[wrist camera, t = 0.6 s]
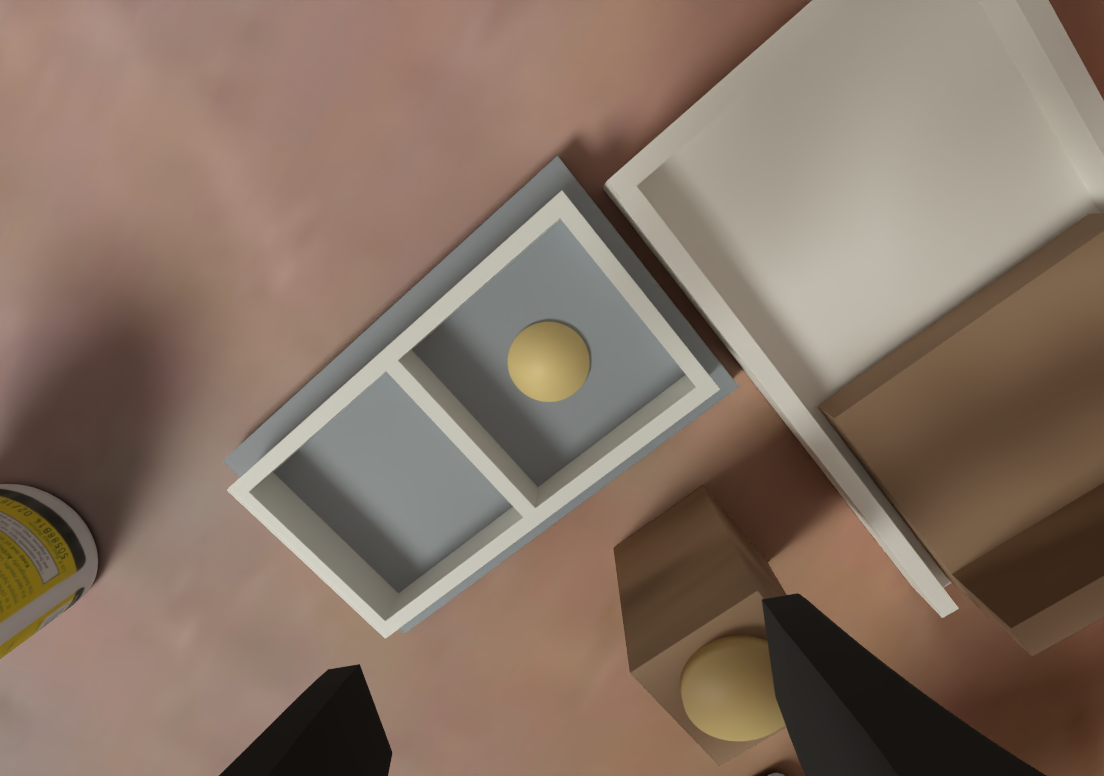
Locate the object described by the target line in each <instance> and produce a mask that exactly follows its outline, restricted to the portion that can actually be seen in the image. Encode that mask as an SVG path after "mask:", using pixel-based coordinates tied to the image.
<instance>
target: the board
mask: <svg viewBox="0 0 1104 776" xmlns="http://www.w3.org/2000/svg"><path fill="white" fill-rule="evenodd" d="M602 188H603V190H604V191H605V192H606V193H607V195H608V196H609V197H610V199H611V200H612V201H613V202H614V204H615V205H616V206H617V208H618V209H619V210H620V211H621V213H622V214H623V215H624V217H625V218H626V219H627V220H628V222H629V223H630V224H631V226H632V227H633V228H634V229H635V231H636V232H637V233H638V235H639V236H640V237H641V238H642V240H643V241H644V242H645V244H646V245H647V246H648V247H649V249H650V250H651V251H652V253H653V254H654V255H655V256H656V258H657V259H658V260H659V262H660V263H661V264H662V265H663V267H664V268H665V269H666V271H667V272H668V273H669V274H670V276H671V277H672V278H673V280H674V281H675V282H676V283H677V285H678V286H679V287H680V289H681V290H682V291H683V292H684V294H685V295H686V296H687V298H688V299H689V300H690V301H691V303H692V304H693V305H694V307H695V308H696V309H697V310H698V312H699V313H700V314H701V316H702V317H703V318H704V319H705V321H706V322H707V323H708V325H709V326H710V327H711V329H712V330H713V331H714V332H715V334H716V335H717V336H718V338H719V339H720V340H721V341H722V343H723V344H724V345H725V347H726V348H727V349H728V350H729V352H730V353H731V354H732V356H733V357H734V358H735V359H736V361H737V362H738V363H739V365H740V366H741V367H742V368H743V370H744V371H745V372H746V374H747V375H748V376H749V377H750V379H751V380H752V381H753V383H754V384H755V385H756V386H757V388H758V389H759V390H760V392H761V393H762V394H763V395H764V397H765V398H766V399H767V401H768V402H769V403H770V404H771V406H772V407H773V408H774V410H775V411H776V412H777V413H778V415H779V416H780V417H781V419H782V420H783V421H784V422H785V424H786V425H787V426H788V428H789V429H790V430H791V431H792V433H793V434H794V435H795V437H796V438H797V439H798V440H799V442H800V443H801V444H802V446H803V447H804V448H805V449H806V451H807V452H808V453H809V455H810V456H811V457H812V458H813V460H814V461H815V462H816V464H817V465H818V466H819V467H820V469H821V470H822V471H823V473H824V474H825V475H826V476H827V478H828V479H829V480H830V482H831V483H832V484H833V485H834V487H835V488H836V489H837V491H838V492H839V493H840V494H841V496H842V497H843V498H844V500H845V501H846V502H847V503H848V505H849V506H850V507H851V509H852V510H853V511H854V513H855V514H856V515H857V516H858V518H859V519H860V520H861V522H862V523H863V524H864V525H865V527H866V528H867V529H868V531H869V532H870V533H871V534H872V536H873V537H874V538H875V540H876V541H877V542H878V543H879V545H880V546H881V547H882V549H883V550H884V551H885V552H886V554H887V555H888V556H889V558H890V559H891V560H892V561H893V563H894V564H895V565H896V567H897V568H898V569H899V570H900V572H901V573H902V574H903V576H904V577H905V578H906V579H907V581H908V582H909V583H910V585H911V586H912V587H913V588H914V589H915V590H916V591H917V592H918V593H919V594H920V595H921V596H922V597H923V598H924V599H925V600H926V601H927V602H928V603H929V605H930V606H931V607H932V608H933V609H934V610H935V611H936V612H937V613H938V614H939V615H940V616H941V617H942V618H944V617H945V616H947V615H949V614H950V613H952V612H954V611H956V610H957V609H959V608H958V607H957V605H956V604H955V603H954V602H953V600H952V599H951V598H950V596H949V595H948V594H947V592H946V591H945V590H944V587H945V586H947V585H949V584H950V583H952V582H951V581H950V580H949V579H948V578H947V577H946V576H945V575H944V574H943V572H942V571H941V570H940V568H939V567H938V566H937V564H936V563H935V562H934V560H933V559H932V558H931V556H930V555H929V554H928V552H927V551H926V550H925V548H924V547H923V546H922V544H921V543H920V542H919V540H918V539H917V538H916V537H915V535H914V534H913V533H912V531H911V530H910V529H909V527H908V526H907V525H906V523H905V522H904V521H903V519H902V518H901V517H900V515H899V514H898V513H897V511H896V510H895V509H894V507H893V506H892V505H891V503H890V502H889V501H888V500H887V498H886V497H885V496H884V494H883V493H882V492H881V490H880V489H879V488H878V486H877V485H876V484H875V482H874V481H873V480H872V478H871V477H870V476H869V474H868V473H867V472H866V470H865V469H864V468H863V466H862V465H861V464H860V463H859V461H858V460H857V459H856V457H855V456H854V455H853V453H852V452H851V451H850V449H849V448H848V447H847V445H846V444H845V443H844V441H843V440H842V439H841V437H840V436H839V435H838V433H837V432H836V431H835V429H834V428H833V427H832V426H831V424H830V423H829V422H828V420H827V419H826V418H825V416H824V415H823V414H822V412H821V411H820V410H819V408H818V407H817V406H818V405H819V404H821V403H822V402H824V401H825V400H826V399H828V398H829V397H831V396H832V395H834V394H835V393H836V392H838V391H839V390H841V389H842V388H843V387H845V386H846V385H848V384H849V383H851V382H852V381H853V380H855V379H856V378H858V377H859V376H860V375H862V374H863V373H865V372H866V371H867V370H869V369H870V368H872V367H873V366H875V365H876V364H877V363H879V362H880V361H882V360H883V359H884V358H886V357H887V356H889V355H890V354H892V353H893V352H894V351H896V350H897V349H899V348H900V347H901V346H903V345H904V344H906V343H907V342H908V341H910V340H911V339H913V338H914V337H916V336H917V335H918V334H920V333H921V332H923V331H924V330H925V329H927V328H928V327H930V326H931V325H933V324H934V323H935V322H937V321H938V320H940V319H941V318H942V317H944V316H945V315H947V314H948V313H950V312H951V311H952V310H954V309H955V308H957V307H958V306H959V305H961V304H962V303H964V302H965V301H966V300H968V299H969V298H971V297H972V296H974V295H975V294H976V293H978V292H979V291H981V290H982V289H983V288H985V287H986V286H988V285H989V284H991V283H992V282H993V281H995V280H996V279H998V278H999V277H1000V276H1002V275H1003V274H1005V273H1006V272H1007V271H1009V270H1010V269H1012V268H1013V267H1015V266H1016V265H1017V264H1019V263H1020V262H1022V261H1023V260H1024V259H1026V258H1027V257H1029V256H1030V255H1032V254H1033V253H1034V252H1036V251H1037V250H1039V249H1040V248H1041V247H1043V246H1044V245H1046V244H1047V243H1049V242H1050V241H1051V240H1053V239H1054V238H1056V237H1057V236H1058V235H1060V234H1061V233H1063V232H1064V231H1065V230H1067V229H1068V228H1070V227H1071V226H1073V225H1074V224H1075V223H1077V222H1078V221H1080V220H1081V219H1082V218H1084V217H1085V216H1087V215H1088V214H1102V213H1104V100H1103V98H1102V97H1101V95H1100V93H1099V91H1098V89H1097V87H1096V86H1095V84H1094V82H1093V80H1092V78H1091V76H1090V75H1089V73H1088V71H1087V69H1086V67H1085V66H1084V64H1083V62H1082V60H1081V58H1080V56H1079V55H1078V53H1077V51H1076V49H1075V47H1074V46H1073V44H1072V42H1071V40H1070V38H1069V36H1068V35H1067V33H1066V31H1065V29H1064V27H1063V26H1062V24H1061V22H1060V20H1059V18H1058V16H1057V15H1056V13H1055V11H1054V9H1053V7H1052V5H1051V4H1050V2H1049V0H812V1H811V2H810V3H809V4H807V5H806V6H805V7H804V8H803V9H802V10H801V11H800V12H798V13H797V14H796V15H795V16H794V17H793V18H792V19H790V20H789V21H788V22H787V23H786V24H785V25H784V26H782V27H781V28H780V29H779V30H778V31H777V32H776V33H774V34H773V35H772V36H771V37H770V38H769V39H768V40H767V41H765V42H764V43H763V44H762V45H761V46H760V47H759V48H757V49H756V50H755V51H754V52H753V53H752V54H751V55H749V56H748V57H747V58H746V59H745V60H744V61H743V62H742V63H740V64H739V65H738V66H737V67H736V68H735V69H734V70H732V71H731V72H730V73H729V74H728V75H727V76H726V77H724V78H723V79H722V80H721V81H720V82H719V83H718V84H716V85H715V86H714V87H713V88H712V89H711V90H710V91H709V92H707V93H706V94H705V95H704V96H703V97H702V98H701V99H699V100H698V101H697V102H696V103H695V104H694V105H693V106H691V107H690V108H689V109H688V110H687V111H686V112H685V113H684V114H682V115H681V116H680V117H679V118H678V119H677V120H676V121H674V122H673V123H672V124H671V125H670V126H669V127H668V128H666V129H665V130H664V131H663V132H662V133H661V134H660V135H658V136H657V137H656V138H655V139H654V140H653V141H652V142H651V143H649V144H648V145H647V146H646V147H645V148H644V149H643V150H641V151H640V152H639V153H638V154H637V155H636V156H635V157H633V158H632V159H631V160H630V161H629V162H628V163H627V164H625V165H624V166H623V167H622V168H621V169H620V170H619V171H618V172H616V173H615V174H614V175H613V176H612V177H611V178H610V179H608V180H607V182H606V183H605V185H604V186H603V187H602Z"/></svg>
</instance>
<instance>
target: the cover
mask: <svg viewBox="0 0 1104 776" xmlns="http://www.w3.org/2000/svg"><path fill="white" fill-rule="evenodd" d="M817 407H818V408H819V410H820V411H821V412H822V414H823V415H824V416H825V418H826V419H827V420H828V422H829V423H830V424H831V426H832V427H833V428H834V429H835V431H836V432H837V433H838V435H839V436H840V437H841V439H842V440H843V441H844V443H845V444H846V445H847V447H848V448H849V449H850V451H851V452H852V453H853V455H854V456H855V457H856V459H857V460H858V461H859V463H860V464H861V465H862V466H863V468H864V469H865V470H866V472H867V473H868V474H869V476H870V477H871V478H872V480H873V481H874V482H875V484H876V485H877V486H878V488H879V489H880V490H881V492H882V493H883V494H884V496H885V497H886V498H887V500H888V501H889V502H890V503H891V505H892V506H893V507H894V509H895V510H896V511H897V513H898V514H899V515H900V517H901V518H902V519H903V521H904V522H905V523H906V525H907V526H908V527H909V529H910V530H911V531H912V533H913V534H914V535H915V537H916V538H917V539H918V540H919V542H920V543H921V544H922V546H923V547H924V548H925V550H926V551H927V552H928V554H929V555H930V556H931V558H932V559H933V560H934V562H935V563H936V564H937V566H938V567H939V568H940V570H941V571H942V572H943V574H944V575H945V576H946V577H947V578H948V579H949V580H950V581H951V582H952V583H953V584H954V585H955V586H956V587H957V588H958V589H960V590H961V591H962V592H963V593H964V594H965V595H966V596H967V597H968V598H969V599H970V600H971V601H972V602H974V603H975V604H976V605H977V606H978V607H979V608H980V609H981V610H982V611H983V612H984V613H985V614H987V615H988V616H989V617H990V618H991V619H992V620H993V621H994V622H995V623H996V624H997V625H998V626H1000V627H1001V628H1002V629H1003V630H1004V631H1005V632H1006V633H1007V634H1008V635H1009V636H1010V637H1011V638H1012V639H1014V640H1015V641H1016V642H1017V643H1018V644H1019V645H1020V646H1021V647H1022V648H1023V649H1024V650H1025V651H1027V652H1028V653H1029V654H1030V655H1031V656H1032V657H1033V656H1034V655H1036V654H1038V653H1040V652H1042V651H1043V650H1045V649H1047V648H1049V647H1051V646H1053V645H1054V644H1056V643H1058V642H1060V641H1062V640H1063V639H1065V638H1067V637H1069V636H1071V635H1072V634H1074V633H1076V632H1078V631H1080V630H1082V629H1083V628H1085V627H1087V626H1089V625H1091V624H1092V623H1094V622H1096V621H1098V620H1100V619H1101V618H1103V617H1104V213H1102V214H1088V215H1087V216H1085V217H1084V218H1082V219H1081V220H1080V221H1078V222H1077V223H1075V224H1074V225H1073V226H1071V227H1070V228H1068V229H1067V230H1065V231H1064V232H1063V233H1061V234H1060V235H1058V236H1057V237H1056V238H1054V239H1053V240H1051V241H1050V242H1049V243H1047V244H1046V245H1044V246H1043V247H1041V248H1040V249H1039V250H1037V251H1036V252H1034V253H1033V254H1032V255H1030V256H1029V257H1027V258H1026V259H1024V260H1023V261H1022V262H1020V263H1019V264H1017V265H1016V266H1015V267H1013V268H1012V269H1010V270H1009V271H1007V272H1006V273H1005V274H1003V275H1002V276H1000V277H999V278H998V279H996V280H995V281H993V282H992V283H991V284H989V285H988V286H986V287H985V288H983V289H982V290H981V291H979V292H978V293H976V294H975V295H974V296H972V297H971V298H969V299H968V300H966V301H965V302H964V303H962V304H961V305H959V306H958V307H957V308H955V309H954V310H952V311H951V312H950V313H948V314H947V315H945V316H944V317H942V318H941V319H940V320H938V321H937V322H935V323H934V324H933V325H931V326H930V327H928V328H927V329H925V330H924V331H923V332H921V333H920V334H918V335H917V336H916V337H914V338H913V339H911V340H910V341H908V342H907V343H906V344H904V345H903V346H901V347H900V348H899V349H897V350H896V351H894V352H893V353H892V354H890V355H889V356H887V357H886V358H884V359H883V360H882V361H880V362H879V363H877V364H876V365H875V366H873V367H872V368H870V369H869V370H867V371H866V372H865V373H863V374H862V375H860V376H859V377H858V378H856V379H855V380H853V381H852V382H851V383H849V384H848V385H846V386H845V387H843V388H842V389H841V390H839V391H838V392H836V393H835V394H834V395H832V396H831V397H829V398H828V399H826V400H825V401H824V402H822V403H821V404H819V405H818V406H817Z"/></svg>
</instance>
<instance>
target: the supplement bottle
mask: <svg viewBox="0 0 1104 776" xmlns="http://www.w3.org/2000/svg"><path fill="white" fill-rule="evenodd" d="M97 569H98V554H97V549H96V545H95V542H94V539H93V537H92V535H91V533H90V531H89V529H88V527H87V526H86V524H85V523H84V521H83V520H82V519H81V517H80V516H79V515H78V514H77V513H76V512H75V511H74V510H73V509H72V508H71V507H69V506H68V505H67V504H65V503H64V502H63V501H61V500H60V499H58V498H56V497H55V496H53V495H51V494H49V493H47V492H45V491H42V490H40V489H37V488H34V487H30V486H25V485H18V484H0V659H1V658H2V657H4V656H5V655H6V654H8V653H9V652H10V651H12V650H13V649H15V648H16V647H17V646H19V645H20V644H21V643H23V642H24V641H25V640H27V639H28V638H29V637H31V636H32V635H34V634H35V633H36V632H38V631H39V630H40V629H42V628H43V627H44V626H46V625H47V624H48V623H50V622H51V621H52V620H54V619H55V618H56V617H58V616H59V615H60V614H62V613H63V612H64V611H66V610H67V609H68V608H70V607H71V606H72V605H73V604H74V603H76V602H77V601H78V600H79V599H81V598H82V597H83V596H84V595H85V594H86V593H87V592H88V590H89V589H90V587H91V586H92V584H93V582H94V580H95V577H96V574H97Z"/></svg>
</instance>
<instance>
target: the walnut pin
mask: <svg viewBox="0 0 1104 776" xmlns="http://www.w3.org/2000/svg"><path fill="white" fill-rule="evenodd" d="M614 556H615V563H616V571H617V578H618V586H619V593H620V601H621V609H622V616H623V624H624V631H625V639H626V646H627V654H628V662H629V669H630V673H631V674H632V676H633V677H634V678H635V679H636V680H637V681H638V682H639V683H640V684H641V685H642V686H643V687H644V688H645V689H646V690H647V691H648V692H649V693H650V694H651V695H652V696H653V697H654V698H655V699H656V701H657V702H658V703H659V704H660V705H661V706H662V707H663V708H664V709H665V710H666V711H667V712H668V713H669V714H670V715H671V716H672V717H673V718H674V719H675V720H676V721H677V722H678V723H679V725H680V726H681V727H682V728H683V729H684V730H685V731H686V732H687V733H688V734H689V735H690V736H691V737H692V738H693V739H694V740H695V741H696V742H697V743H698V744H699V745H700V746H701V747H702V748H703V750H704V751H705V752H706V753H707V754H708V755H709V756H710V757H711V758H712V759H713V760H714V761H715V762H716V763H717V764H718V765H719V766H720V765H722V764H724V763H725V762H727V761H729V760H730V759H732V758H734V757H736V756H737V755H739V754H741V753H743V752H744V751H746V750H748V749H749V748H751V747H753V746H755V745H756V744H758V743H760V742H762V741H763V740H765V739H767V738H768V737H770V736H772V735H774V734H775V733H777V732H779V731H781V730H782V729H784V728H786V724H785V722H784V719H783V716H782V714H781V711H780V708H779V705H778V703H777V700H776V697H775V691H774V684H773V677H772V670H771V662H770V655H769V648H768V641H767V634H766V627H765V620H764V613H763V606H762V599H767V598H773V597H779V596H785V595H786V593H785V591H784V590H783V588H782V586H781V584H780V583H779V581H778V579H777V578H776V576H775V574H774V573H773V571H772V569H771V568H770V566H769V564H768V562H767V561H766V560H765V559H764V558H763V557H762V555H761V554H760V553H759V552H758V551H757V549H756V548H755V547H754V546H753V545H752V543H751V542H750V541H749V540H748V539H747V537H746V536H745V535H744V534H743V533H742V531H741V530H740V529H739V528H738V527H737V526H736V524H735V523H734V522H733V521H732V520H731V518H730V517H729V516H728V515H727V514H726V512H725V511H724V510H723V509H722V508H721V506H720V505H719V504H718V503H717V502H716V500H715V499H714V498H713V497H712V496H711V495H710V493H709V492H708V491H707V490H706V489H705V487H704V486H703V485H702V486H701V487H699V488H698V489H696V490H695V491H694V492H692V493H691V494H689V495H688V496H687V497H685V498H684V499H682V500H681V501H679V502H678V503H677V504H675V505H674V506H672V507H671V508H670V509H668V510H667V511H665V512H664V513H663V514H661V515H660V516H658V517H657V518H655V519H654V520H653V521H651V522H650V523H648V524H647V525H646V526H644V527H643V528H641V529H640V530H639V531H637V532H636V533H634V534H633V535H631V536H630V537H629V538H627V539H626V540H624V541H623V542H622V543H620V544H619V545H617V546H616V547H614Z"/></svg>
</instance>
